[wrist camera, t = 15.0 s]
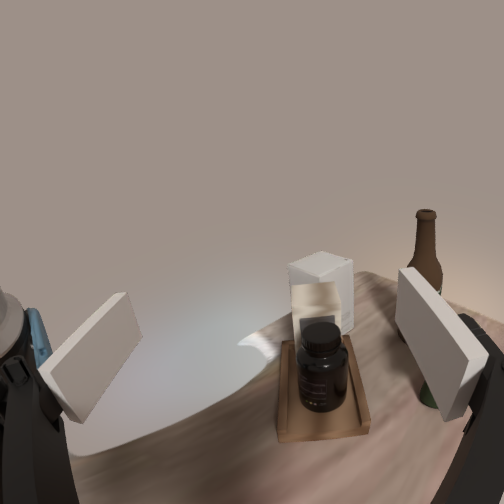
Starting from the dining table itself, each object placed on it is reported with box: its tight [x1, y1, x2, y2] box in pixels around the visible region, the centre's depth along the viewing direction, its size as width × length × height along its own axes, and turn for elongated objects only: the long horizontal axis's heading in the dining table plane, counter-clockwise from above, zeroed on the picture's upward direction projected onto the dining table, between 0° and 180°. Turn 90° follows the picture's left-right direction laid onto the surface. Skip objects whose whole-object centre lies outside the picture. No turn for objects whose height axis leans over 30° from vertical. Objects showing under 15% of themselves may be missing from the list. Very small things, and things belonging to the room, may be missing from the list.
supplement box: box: [288, 251, 354, 335], centre depth 55 cm, size 9×9×15 cm
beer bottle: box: [398, 209, 443, 343], centre depth 45 cm, size 8×8×24 cm
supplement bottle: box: [296, 321, 349, 413], centre depth 36 cm, size 7×7×12 cm
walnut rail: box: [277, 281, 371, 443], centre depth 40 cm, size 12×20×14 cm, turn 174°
